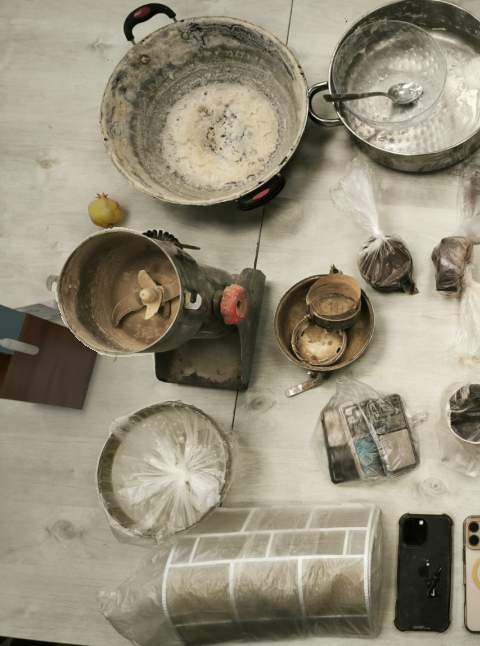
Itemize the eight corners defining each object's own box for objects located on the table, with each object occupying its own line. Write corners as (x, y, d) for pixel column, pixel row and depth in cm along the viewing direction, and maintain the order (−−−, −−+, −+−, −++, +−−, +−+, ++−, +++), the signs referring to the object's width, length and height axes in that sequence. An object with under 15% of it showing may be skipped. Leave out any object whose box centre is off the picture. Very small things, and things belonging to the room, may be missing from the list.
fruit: (121, 222, 123) (112, 183, 125) (87, 227, 121) (78, 188, 123) (130, 235, 130) (121, 198, 132) (97, 241, 127) (89, 203, 129)
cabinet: (101, 339, 123) (-25, 294, 90) (81, 409, 120) (-57, 390, 86) (58, 333, 123) (-84, 286, 90) (37, 404, 120) (-118, 382, 87)
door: (54, 317, 100) (15, 302, 91) (42, 358, 99) (1, 347, 89) (23, 313, 100) (-19, 298, 91) (10, 354, 99) (-34, 343, 89)
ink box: (19, 316, 124) (-16, 304, 115) (69, 305, 125) (39, 292, 115) (20, 326, 123) (-15, 315, 114) (70, 315, 124) (39, 303, 115)
